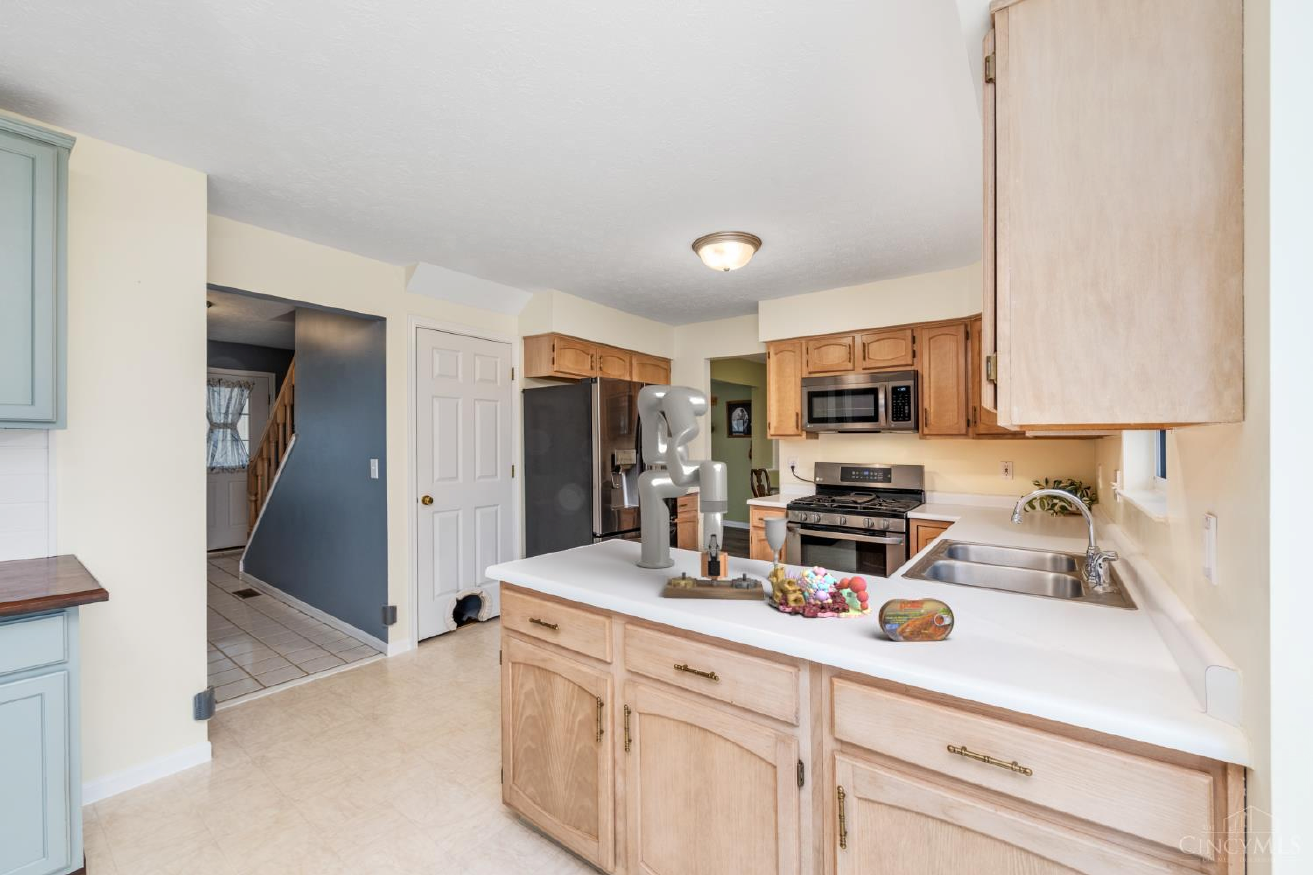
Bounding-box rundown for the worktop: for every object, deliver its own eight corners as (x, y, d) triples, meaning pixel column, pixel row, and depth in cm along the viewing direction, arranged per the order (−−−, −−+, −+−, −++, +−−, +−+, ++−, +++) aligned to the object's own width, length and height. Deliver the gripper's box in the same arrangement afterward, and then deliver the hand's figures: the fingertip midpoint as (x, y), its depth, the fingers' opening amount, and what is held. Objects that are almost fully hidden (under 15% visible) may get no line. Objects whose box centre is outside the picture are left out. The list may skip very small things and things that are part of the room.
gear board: (668, 586, 162) (668, 567, 162) (761, 588, 159) (761, 569, 159) (664, 597, 150) (664, 577, 150) (764, 600, 147) (764, 579, 147)
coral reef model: (782, 621, 131) (781, 581, 131) (756, 594, 154) (756, 560, 154) (887, 618, 133) (886, 578, 133) (846, 591, 156) (845, 557, 156)
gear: (701, 572, 158) (701, 551, 158) (727, 572, 158) (727, 551, 158) (700, 578, 151) (700, 556, 151) (727, 579, 150) (727, 556, 151)
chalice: (787, 577, 171) (786, 517, 172) (790, 582, 165) (789, 520, 165) (762, 576, 172) (761, 517, 172) (764, 582, 165) (763, 520, 165)
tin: (882, 642, 116) (882, 601, 116) (876, 637, 119) (876, 596, 119) (955, 641, 117) (955, 600, 117) (947, 635, 120) (946, 595, 120)
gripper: (700, 503, 164) (701, 565, 163) (698, 510, 146) (699, 579, 146) (727, 503, 163) (728, 565, 163) (727, 510, 146) (728, 580, 145)
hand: (714, 571), depth 154 cm, fingers closed on gear, 7 cm apart
